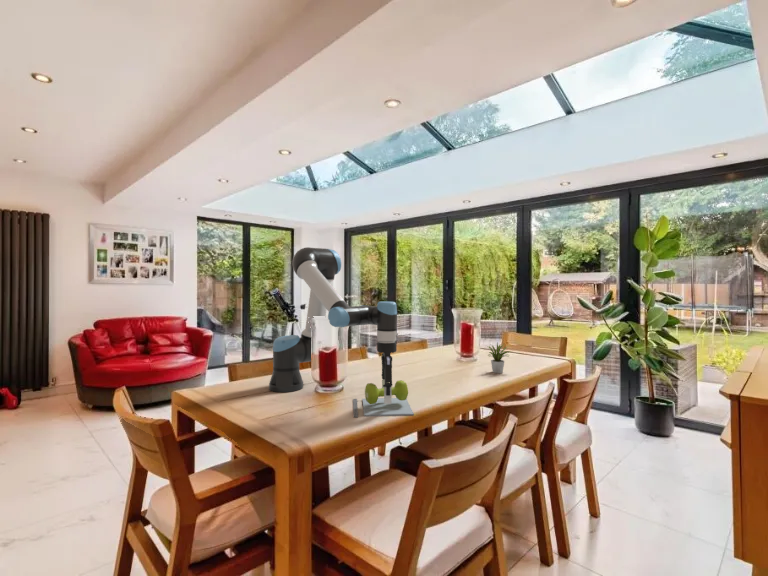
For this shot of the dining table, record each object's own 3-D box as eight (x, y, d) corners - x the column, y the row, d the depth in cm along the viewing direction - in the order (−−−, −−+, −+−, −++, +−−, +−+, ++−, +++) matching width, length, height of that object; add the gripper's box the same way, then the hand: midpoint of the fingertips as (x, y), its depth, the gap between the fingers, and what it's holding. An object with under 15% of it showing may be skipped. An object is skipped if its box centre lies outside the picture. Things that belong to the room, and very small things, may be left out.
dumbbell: (369, 406, 146) (369, 387, 146) (362, 400, 153) (363, 381, 153) (410, 401, 152) (410, 383, 152) (401, 396, 159) (401, 378, 159)
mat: (364, 416, 142) (364, 414, 142) (362, 400, 162) (362, 398, 162) (413, 415, 144) (413, 413, 144) (405, 399, 163) (405, 397, 163)
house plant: (494, 376, 205) (494, 345, 205) (477, 370, 218) (478, 341, 217) (515, 374, 211) (516, 343, 210) (498, 368, 223) (498, 340, 223)
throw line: (353, 417, 141) (353, 416, 141) (353, 399, 163) (353, 398, 163) (358, 417, 141) (358, 416, 141) (357, 399, 163) (357, 398, 163)
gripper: (400, 345, 142) (399, 408, 142) (393, 337, 164) (393, 391, 164) (379, 346, 141) (378, 408, 142) (375, 337, 163) (375, 392, 163)
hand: (386, 399), depth 153 cm, fingers closed on dumbbell, 9 cm apart
